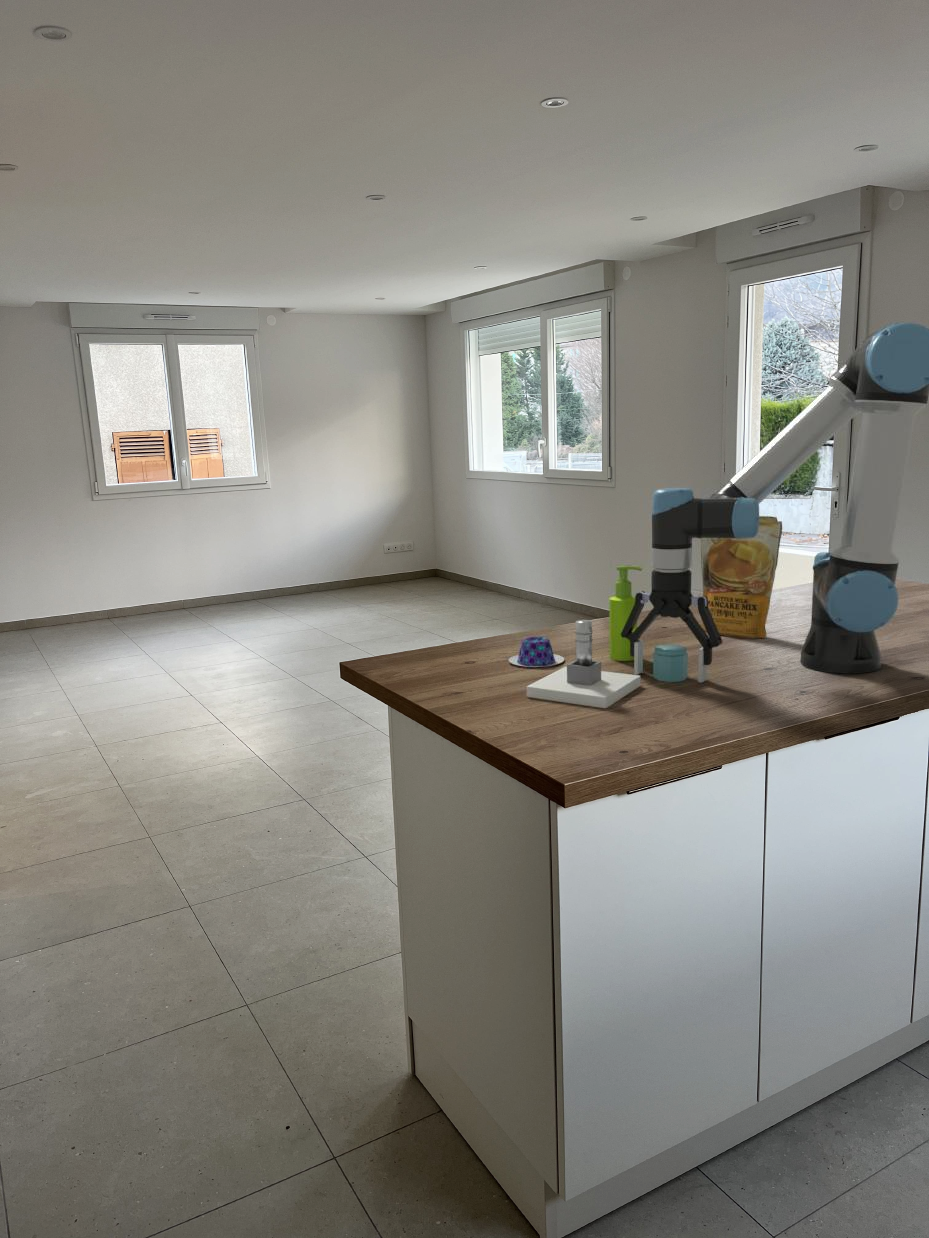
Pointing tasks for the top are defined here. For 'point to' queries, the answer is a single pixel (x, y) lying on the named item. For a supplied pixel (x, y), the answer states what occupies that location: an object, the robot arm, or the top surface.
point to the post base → (584, 685)
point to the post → (583, 642)
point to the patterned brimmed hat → (536, 653)
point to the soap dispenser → (621, 614)
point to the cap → (670, 663)
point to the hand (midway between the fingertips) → (669, 676)
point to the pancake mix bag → (741, 579)
